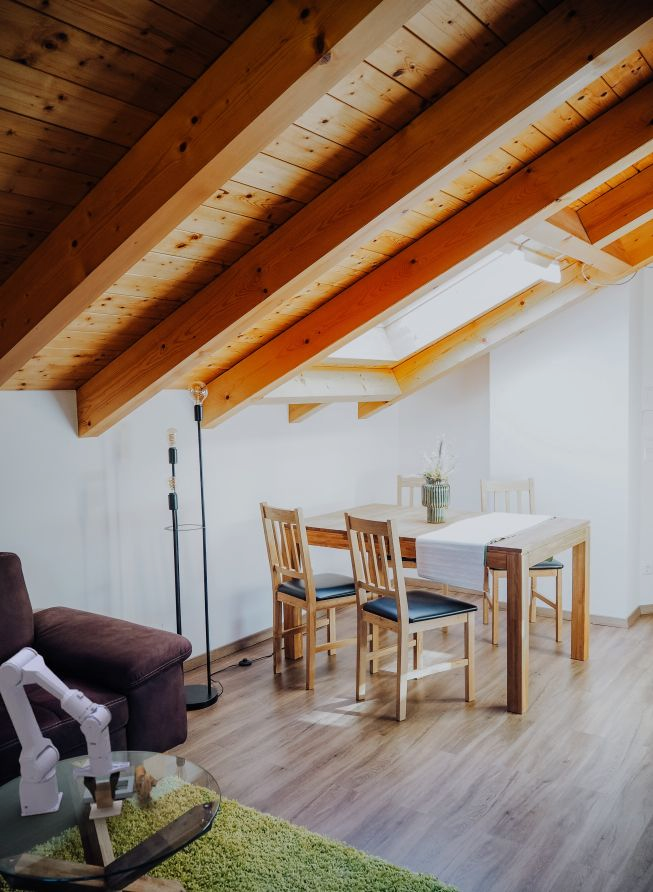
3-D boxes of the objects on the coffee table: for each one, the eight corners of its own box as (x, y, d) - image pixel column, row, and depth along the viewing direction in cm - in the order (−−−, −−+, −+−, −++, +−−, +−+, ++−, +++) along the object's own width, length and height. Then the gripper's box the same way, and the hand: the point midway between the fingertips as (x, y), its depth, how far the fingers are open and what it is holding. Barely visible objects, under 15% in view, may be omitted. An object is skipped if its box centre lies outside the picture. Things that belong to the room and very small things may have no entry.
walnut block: (97, 809, 203) (95, 792, 202) (99, 799, 207) (97, 783, 206) (112, 806, 204) (110, 790, 203) (114, 797, 208) (112, 781, 207)
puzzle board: (83, 803, 209) (83, 798, 209) (87, 786, 216) (87, 781, 216) (132, 796, 211) (132, 791, 211) (135, 780, 218) (134, 775, 218)
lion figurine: (161, 804, 207) (158, 774, 205) (142, 812, 204) (139, 781, 203) (144, 778, 219) (141, 749, 218) (126, 784, 216) (122, 756, 215)
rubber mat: (89, 819, 202) (89, 817, 202) (92, 806, 208) (92, 804, 208) (120, 814, 203) (120, 813, 203) (122, 801, 209) (122, 800, 209)
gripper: (129, 740, 207) (133, 785, 210) (74, 747, 205) (79, 793, 208) (126, 755, 201) (131, 801, 203) (69, 762, 198) (75, 809, 201)
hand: (104, 798), depth 205 cm, fingers closed on walnut block, 4 cm apart
